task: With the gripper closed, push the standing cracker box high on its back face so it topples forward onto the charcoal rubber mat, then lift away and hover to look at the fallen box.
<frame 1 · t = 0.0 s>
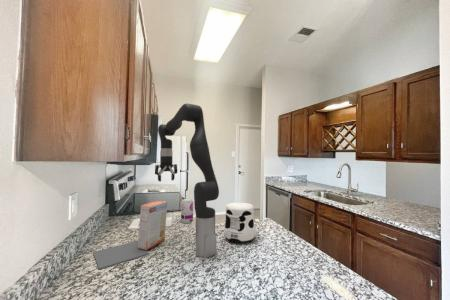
hand: (166, 180, 132), 29 cm above the countertop, fingers open, 8 cm apart
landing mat: (121, 253, 95), on the countertop
cracker box: (151, 244, 104), on the countertop
milk container: (239, 238, 113), on the countertop
supplement can: (187, 222, 140), on the countertop
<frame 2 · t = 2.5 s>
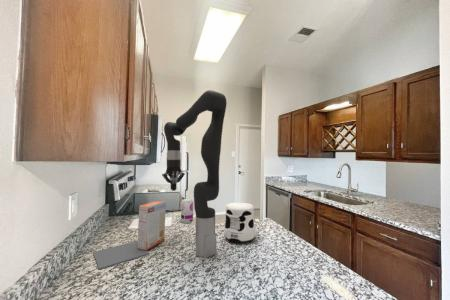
hand: (173, 190, 112), 26 cm above the countertop, fingers closed
cracker box: (151, 245, 104), on the countertop, touching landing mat
everything else where it was.
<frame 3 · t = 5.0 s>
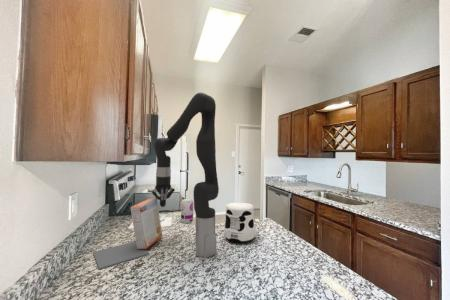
hand: (162, 206, 111), 18 cm above the countertop, fingers closed
cracker box: (150, 242, 104), point 1 cm above the countertop, touching gripper, hand, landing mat
everything else where it was.
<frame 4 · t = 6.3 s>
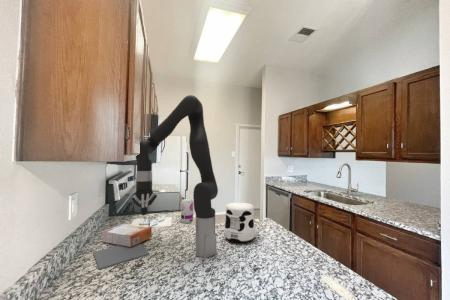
hand: (143, 214, 102), 16 cm above the countertop, fingers closed
cracker box: (142, 237, 105), point 4 cm above the countertop, touching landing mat
everything else where it was.
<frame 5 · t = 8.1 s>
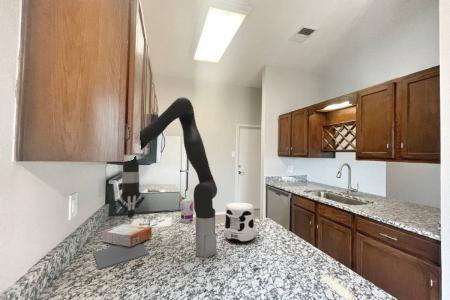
hand: (130, 217, 98), 16 cm above the countertop, fingers closed
nothing on the countertop moved.
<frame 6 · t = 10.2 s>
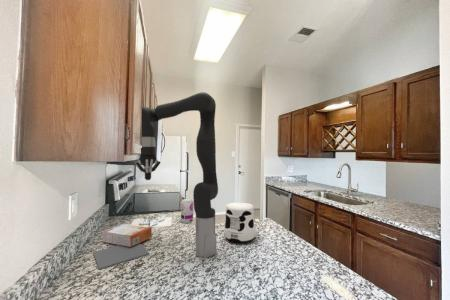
hand: (148, 179, 105), 33 cm above the countertop, fingers closed
nothing on the countertop moved.
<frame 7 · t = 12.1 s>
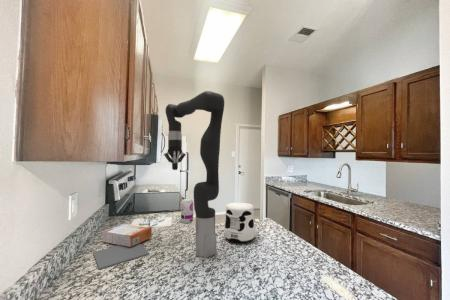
hand: (174, 169, 117), 37 cm above the countertop, fingers closed
nothing on the countertop moved.
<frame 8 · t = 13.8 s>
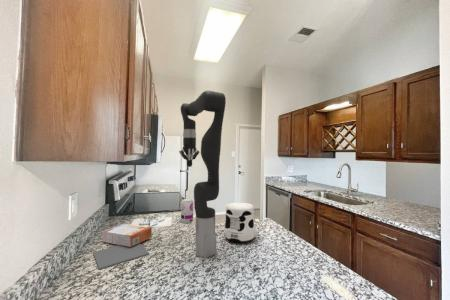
hand: (189, 166, 121), 39 cm above the countertop, fingers closed
nothing on the countertop moved.
at the end: cracker box tilted 92°; cracker box touching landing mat, countertop; cracker box inside the target area (6.9 cm from its centre), point 3.6 cm above the countertop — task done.
